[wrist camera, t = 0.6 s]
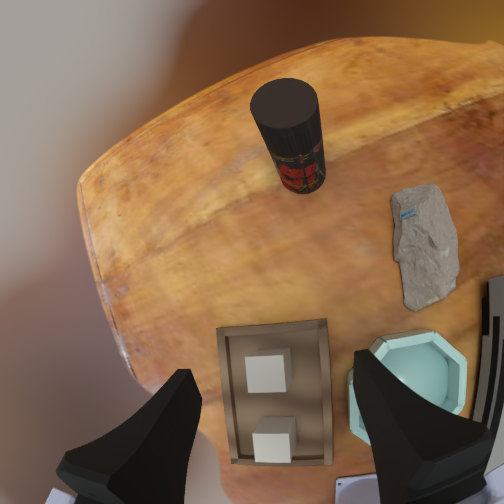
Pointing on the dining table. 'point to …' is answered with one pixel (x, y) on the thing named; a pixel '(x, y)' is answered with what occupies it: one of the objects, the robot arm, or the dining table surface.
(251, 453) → the tray
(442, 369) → the bowl
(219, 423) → the dining table surface
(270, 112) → the deodorant
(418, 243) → the concrete fragment
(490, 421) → the game console
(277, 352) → the stone
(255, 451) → the stone
